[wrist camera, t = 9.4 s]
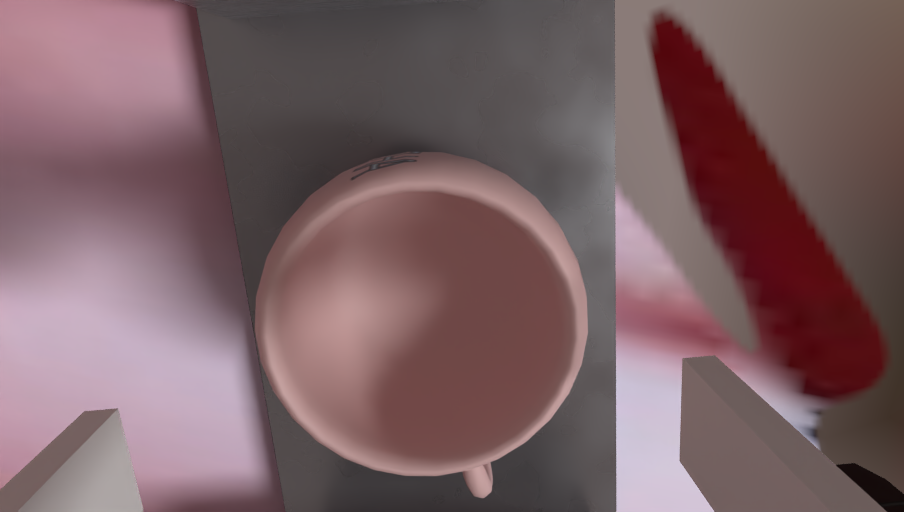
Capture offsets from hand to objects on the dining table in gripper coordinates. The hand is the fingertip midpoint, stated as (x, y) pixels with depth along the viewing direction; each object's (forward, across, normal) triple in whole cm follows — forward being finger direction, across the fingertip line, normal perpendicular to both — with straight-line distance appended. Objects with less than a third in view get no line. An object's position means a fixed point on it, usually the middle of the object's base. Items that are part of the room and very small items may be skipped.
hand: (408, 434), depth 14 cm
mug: (+9, +1, 0) cm, 9 cm away
